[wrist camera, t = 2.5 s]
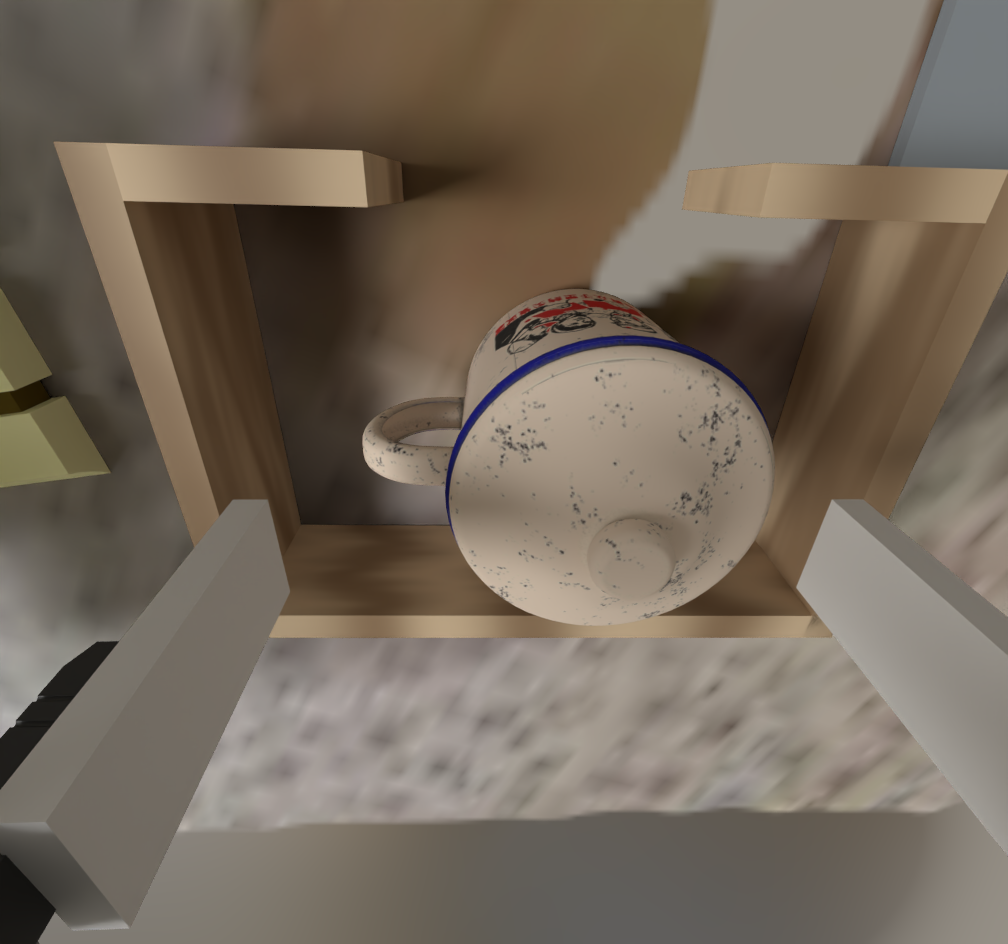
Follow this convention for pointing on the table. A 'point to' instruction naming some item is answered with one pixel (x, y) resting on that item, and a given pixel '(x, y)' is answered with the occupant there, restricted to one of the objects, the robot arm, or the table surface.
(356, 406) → the table surface
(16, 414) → the slatted curved stool
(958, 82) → the mat
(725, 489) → the teacup with lid
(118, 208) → the open enclosure
